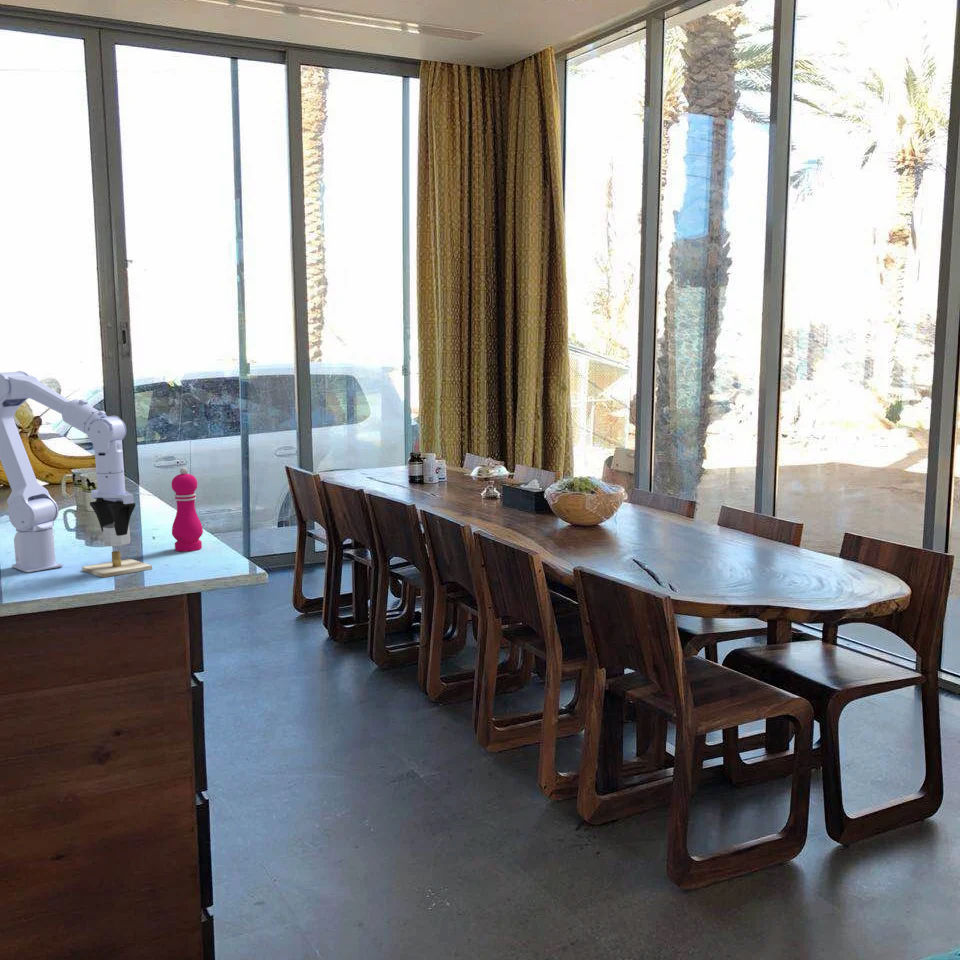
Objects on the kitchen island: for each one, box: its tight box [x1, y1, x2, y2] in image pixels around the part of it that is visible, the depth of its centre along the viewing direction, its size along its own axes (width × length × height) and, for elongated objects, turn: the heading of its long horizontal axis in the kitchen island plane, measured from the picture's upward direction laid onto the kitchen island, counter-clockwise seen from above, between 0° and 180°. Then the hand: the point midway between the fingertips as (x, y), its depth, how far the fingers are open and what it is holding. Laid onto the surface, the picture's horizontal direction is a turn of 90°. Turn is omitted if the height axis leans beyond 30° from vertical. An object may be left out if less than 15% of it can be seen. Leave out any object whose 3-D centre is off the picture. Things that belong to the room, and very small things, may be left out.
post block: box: [81, 550, 153, 578], centre depth 218 cm, size 11×11×4 cm
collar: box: [102, 524, 131, 547], centre depth 217 cm, size 5×5×4 cm
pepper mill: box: [171, 466, 204, 552], centre depth 238 cm, size 7×7×20 cm
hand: (114, 533), depth 217 cm, fingers closed on collar, 5 cm apart
